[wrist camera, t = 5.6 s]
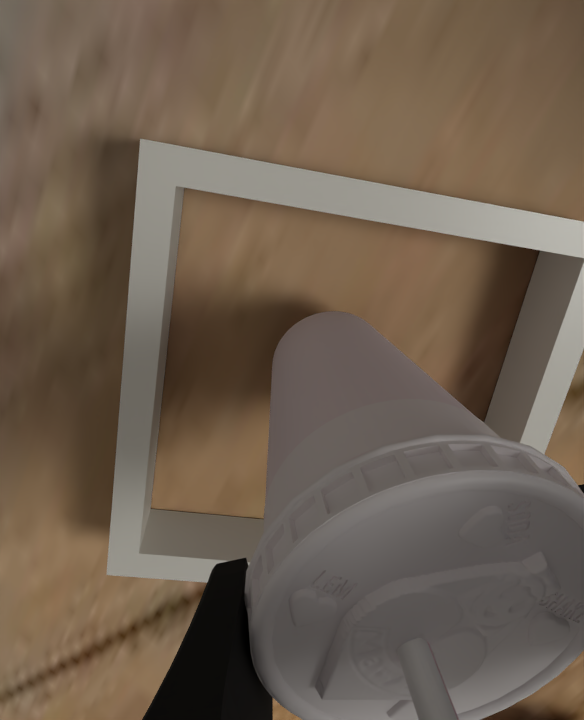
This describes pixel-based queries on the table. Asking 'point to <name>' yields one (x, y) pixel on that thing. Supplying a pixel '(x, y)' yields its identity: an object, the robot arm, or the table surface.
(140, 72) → the table surface
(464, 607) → the smoothie
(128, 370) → the white shallow square frame
